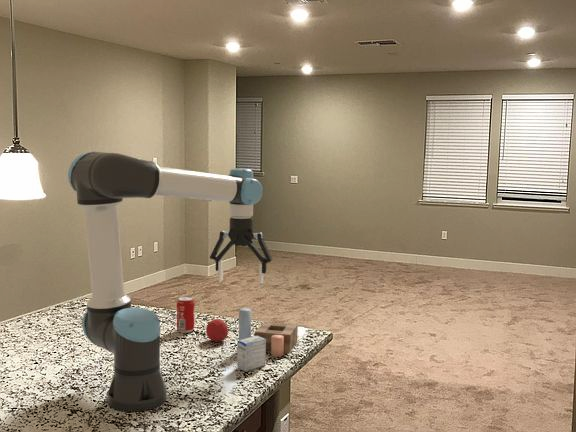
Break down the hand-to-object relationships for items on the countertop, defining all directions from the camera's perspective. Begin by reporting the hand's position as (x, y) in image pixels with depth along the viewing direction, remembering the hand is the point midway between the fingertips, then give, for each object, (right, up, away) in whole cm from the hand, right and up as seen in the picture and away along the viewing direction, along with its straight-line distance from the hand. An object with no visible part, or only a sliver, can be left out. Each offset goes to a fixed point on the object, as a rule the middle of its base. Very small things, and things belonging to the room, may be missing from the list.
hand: (240, 282), depth 203 cm
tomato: (-9, -22, +12) cm, 27 cm away
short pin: (+12, -24, -1) cm, 26 cm away
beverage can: (-22, -20, +23) cm, 38 cm away
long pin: (+1, -23, +2) cm, 23 cm away
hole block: (+11, -22, +9) cm, 27 cm away
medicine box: (+4, -25, -12) cm, 28 cm away
